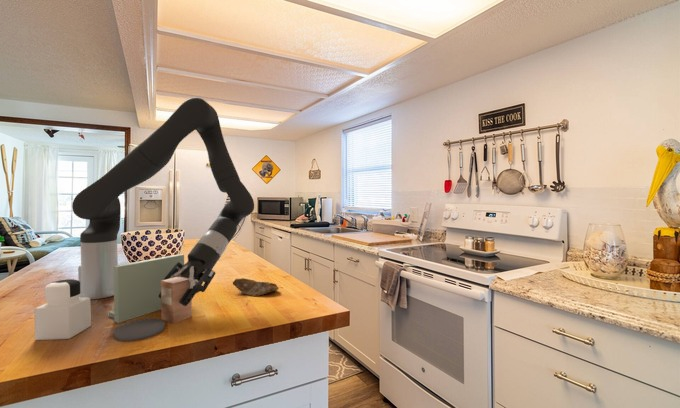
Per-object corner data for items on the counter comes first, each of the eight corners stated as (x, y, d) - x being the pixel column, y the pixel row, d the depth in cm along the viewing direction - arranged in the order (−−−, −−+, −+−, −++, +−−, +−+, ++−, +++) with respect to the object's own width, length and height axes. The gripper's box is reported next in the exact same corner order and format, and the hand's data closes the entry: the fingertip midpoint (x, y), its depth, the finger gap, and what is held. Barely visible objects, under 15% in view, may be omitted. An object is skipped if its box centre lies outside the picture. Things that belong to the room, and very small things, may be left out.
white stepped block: (60, 327, 76) (58, 277, 76) (91, 326, 77) (90, 277, 76) (34, 340, 69) (32, 286, 69) (69, 339, 70) (67, 285, 69)
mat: (102, 339, 70) (102, 334, 70) (137, 321, 80) (137, 317, 80) (143, 342, 68) (143, 338, 68) (174, 323, 78) (174, 319, 78)
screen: (118, 323, 79) (117, 267, 78) (104, 317, 82) (102, 263, 81) (184, 301, 94) (184, 254, 94) (170, 297, 98) (169, 252, 97)
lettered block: (160, 319, 81) (159, 280, 80) (179, 313, 85) (179, 276, 85) (172, 323, 78) (172, 283, 78) (191, 316, 83) (191, 278, 83)
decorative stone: (243, 272, 110) (284, 279, 108) (241, 284, 110) (282, 292, 108) (228, 279, 101) (273, 287, 98) (227, 292, 101) (271, 301, 98)
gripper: (184, 239, 91) (144, 289, 82) (218, 243, 85) (179, 298, 75) (200, 255, 96) (164, 304, 86) (234, 259, 89) (199, 313, 80)
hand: (171, 301), depth 81 cm, fingers open, 8 cm apart
